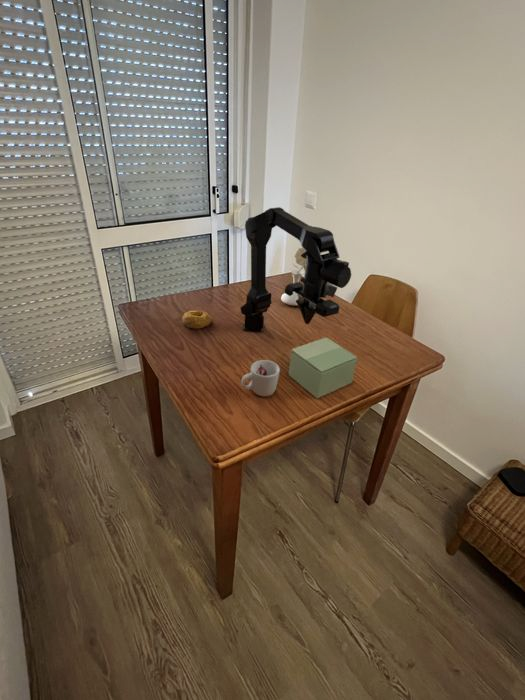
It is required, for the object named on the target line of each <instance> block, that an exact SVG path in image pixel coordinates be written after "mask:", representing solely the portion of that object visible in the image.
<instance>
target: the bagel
mask: <svg viewBox="0 0 525 700" xmlns="http://www.w3.org/2000/svg"><path fill="white" fill-rule="evenodd" d="M181 320H182V323H183V324H184V325H185V326H186V327H187V328H190V329H195V330H197V329H198V330H199V329H204V328H206V327H208V326H209V325H210V324H211V323H212V322H213V317H211V315H209V313H208V312H206V311H205V310H189V311H187V312H185V313H184V314H183V315H182V319H181Z"/></svg>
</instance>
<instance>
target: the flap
mask: <svg viewBox="0 0 525 700" xmlns="http://www.w3.org/2000/svg"><path fill="white" fill-rule="evenodd" d="M340 347H342V346H341V345H339V343H336V342H334V341H333V340H331V339H330V338H329V337H326V336H325V337H323V338H320V339H317V340H314V341H311V342H308V343H305V344H302V345H300V346H297V347H294V348H291V351H293V352H295V353H296V354H297V355H299V356H300V357H301V358H302V359H304V360H305V361H306V360H308V359H310V358H313V357H316V356H318V355H321V354H324V353H326V352H329V351H332V350H335V349H337V348H340Z"/></svg>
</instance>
